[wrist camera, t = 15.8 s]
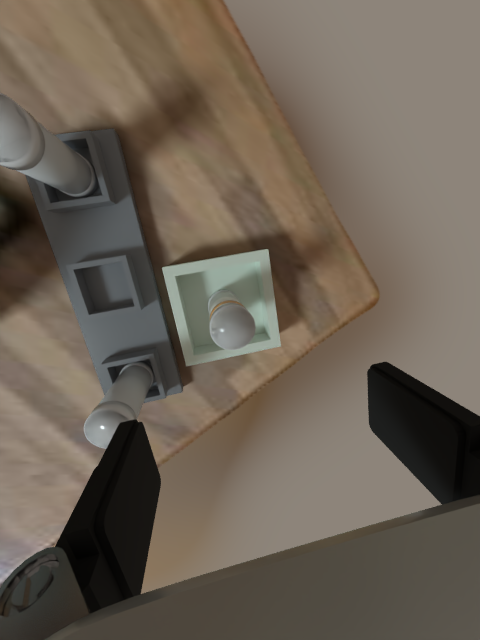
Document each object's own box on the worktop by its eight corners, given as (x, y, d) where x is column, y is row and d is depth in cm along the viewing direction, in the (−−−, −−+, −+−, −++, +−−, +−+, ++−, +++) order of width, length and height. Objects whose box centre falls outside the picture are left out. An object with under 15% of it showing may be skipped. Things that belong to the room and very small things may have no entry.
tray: (166, 265, 32) (161, 267, 28) (260, 249, 33) (268, 248, 29) (188, 354, 35) (186, 366, 32) (272, 336, 37) (280, 346, 33)
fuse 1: (49, 157, 26) (-53, 93, 16) (91, 152, 27) (17, 86, 16) (63, 201, 28) (-23, 168, 17) (103, 195, 28) (42, 159, 17)
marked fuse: (204, 292, 33) (205, 310, 22) (236, 286, 33) (251, 301, 22) (211, 323, 34) (214, 354, 23) (241, 317, 34) (258, 345, 24)
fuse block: (23, 147, 27) (-3, 131, 24) (118, 134, 28) (106, 118, 25) (113, 402, 36) (103, 417, 32) (183, 386, 37) (181, 400, 33)
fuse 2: (117, 363, 33) (77, 415, 22) (150, 357, 33) (125, 404, 23) (126, 391, 34) (92, 453, 24) (158, 384, 34) (138, 442, 24)
